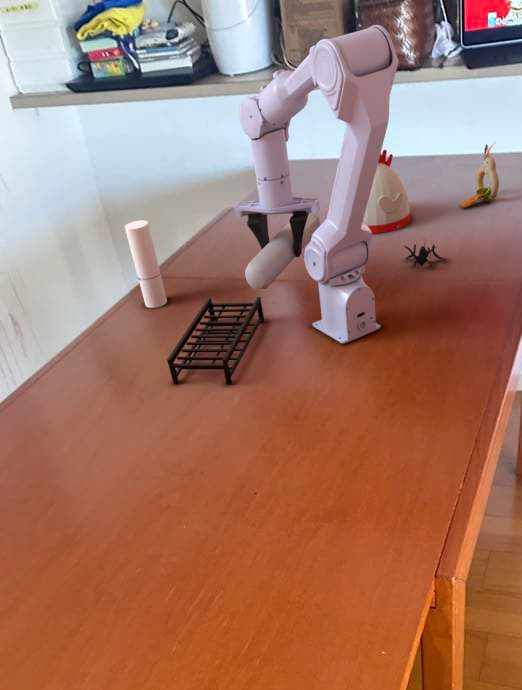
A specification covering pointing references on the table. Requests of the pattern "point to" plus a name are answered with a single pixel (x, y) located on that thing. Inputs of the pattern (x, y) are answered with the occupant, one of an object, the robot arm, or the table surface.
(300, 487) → the table surface
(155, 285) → the tube
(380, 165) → the kitchen timer
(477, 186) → the rattle
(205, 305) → the shoe rack
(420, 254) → the creature
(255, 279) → the tube
